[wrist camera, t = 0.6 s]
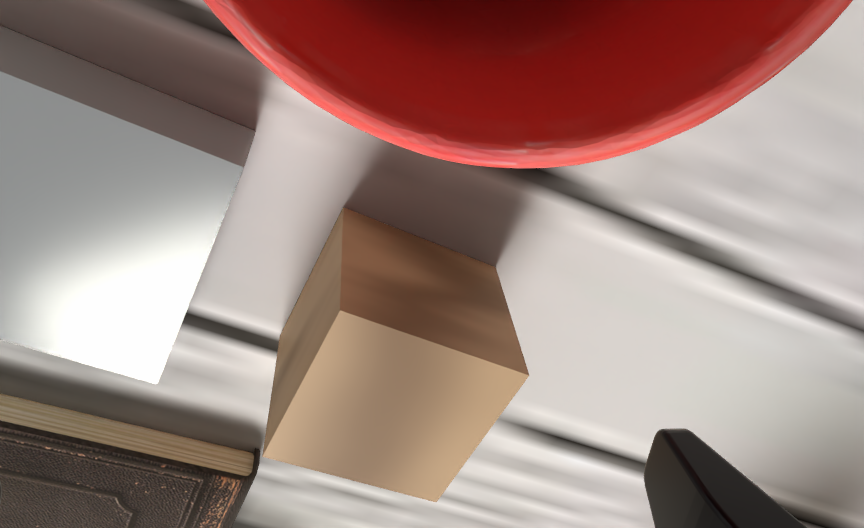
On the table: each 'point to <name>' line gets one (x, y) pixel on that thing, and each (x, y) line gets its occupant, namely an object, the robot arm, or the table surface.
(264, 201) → the table surface
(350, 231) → the tan block
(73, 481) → the hardcover book
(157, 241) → the grey box
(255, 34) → the flower pot
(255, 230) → the table surface
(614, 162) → the table surface
